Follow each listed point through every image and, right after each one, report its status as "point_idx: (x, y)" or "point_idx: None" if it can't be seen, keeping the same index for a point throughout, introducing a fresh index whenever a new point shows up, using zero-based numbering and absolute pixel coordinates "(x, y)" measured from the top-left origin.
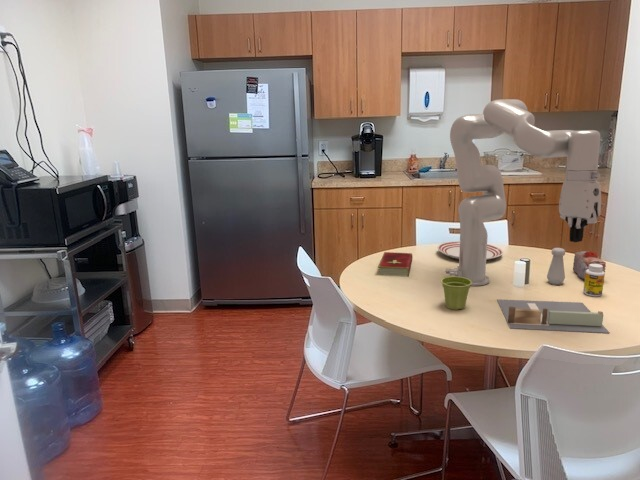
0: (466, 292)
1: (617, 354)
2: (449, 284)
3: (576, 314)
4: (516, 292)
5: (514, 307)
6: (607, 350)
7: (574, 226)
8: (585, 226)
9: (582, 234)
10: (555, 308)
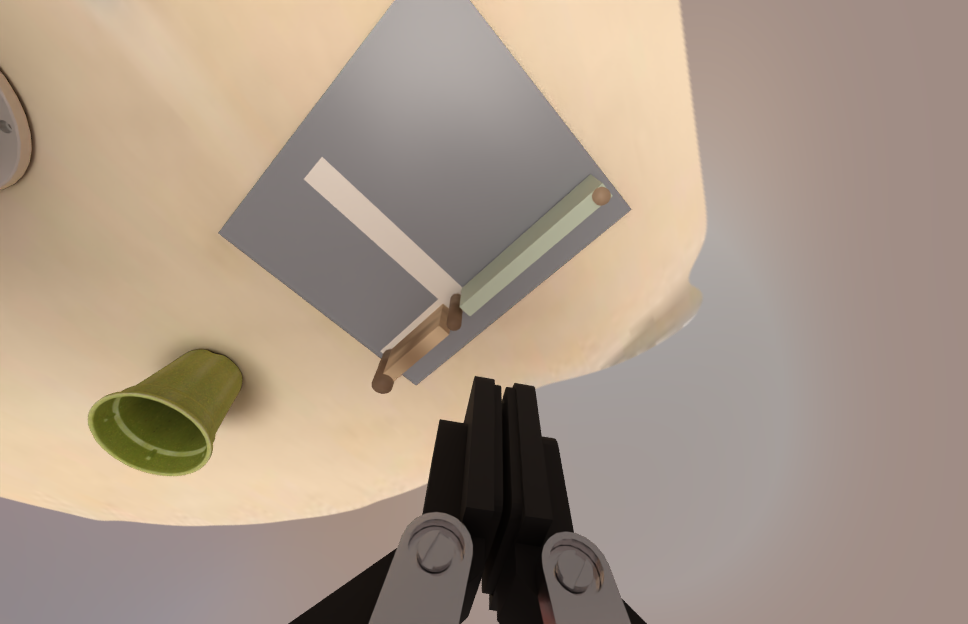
0: (215, 410)
1: (679, 322)
2: (123, 406)
3: (535, 259)
4: (171, 78)
5: (384, 379)
6: (653, 319)
7: (471, 601)
8: (602, 569)
9: (559, 481)
10: (402, 142)
